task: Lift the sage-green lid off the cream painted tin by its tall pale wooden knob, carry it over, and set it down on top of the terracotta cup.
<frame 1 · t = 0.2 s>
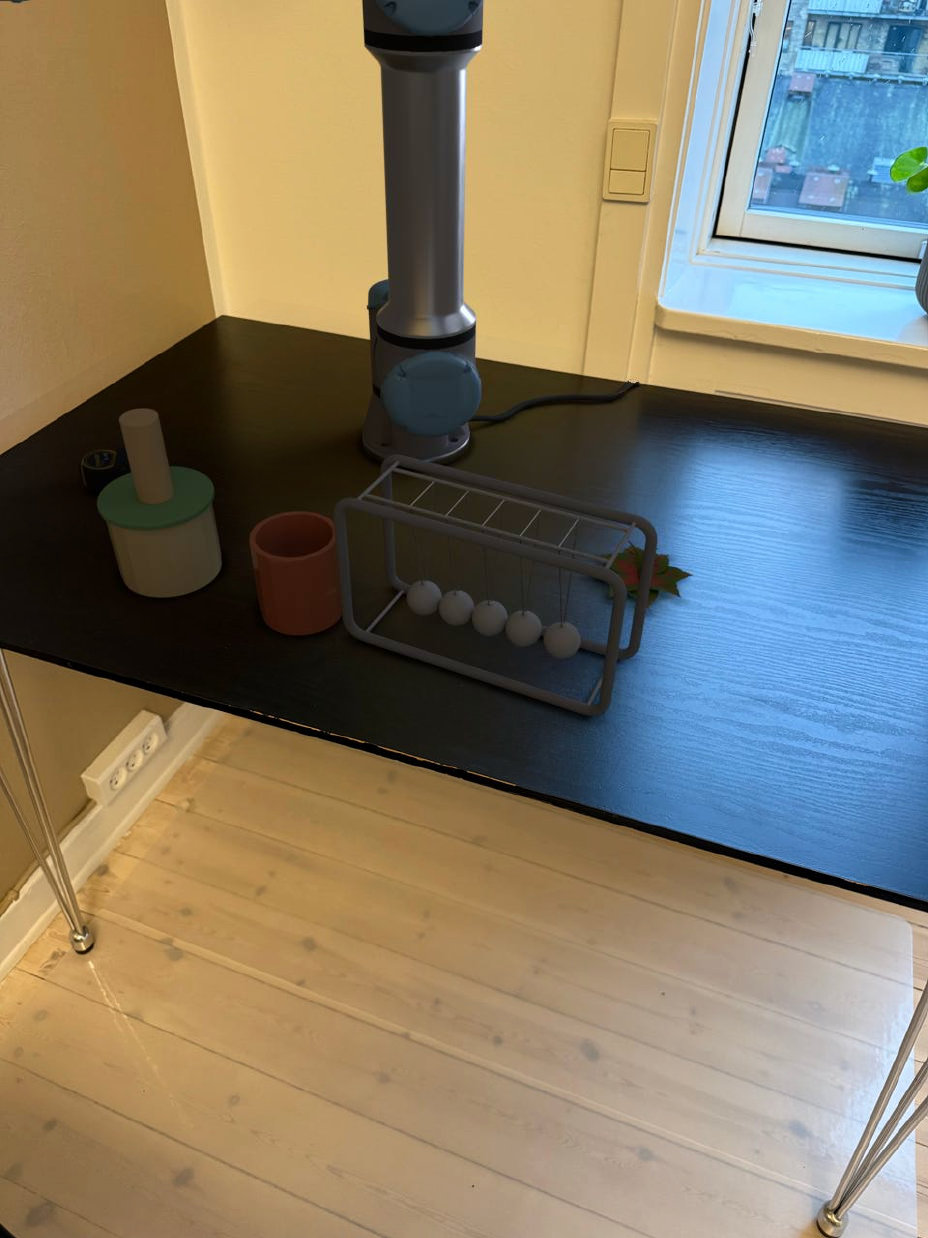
cup: (303, 609, 107), on the table
newton's cradle: (488, 650, 102), on the table
red green leaf: (638, 580, 112), on the table
tape measure: (115, 482, 128), on the table
lid: (157, 499, 107), point 9 cm above the table, touching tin
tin: (172, 568, 113), on the table
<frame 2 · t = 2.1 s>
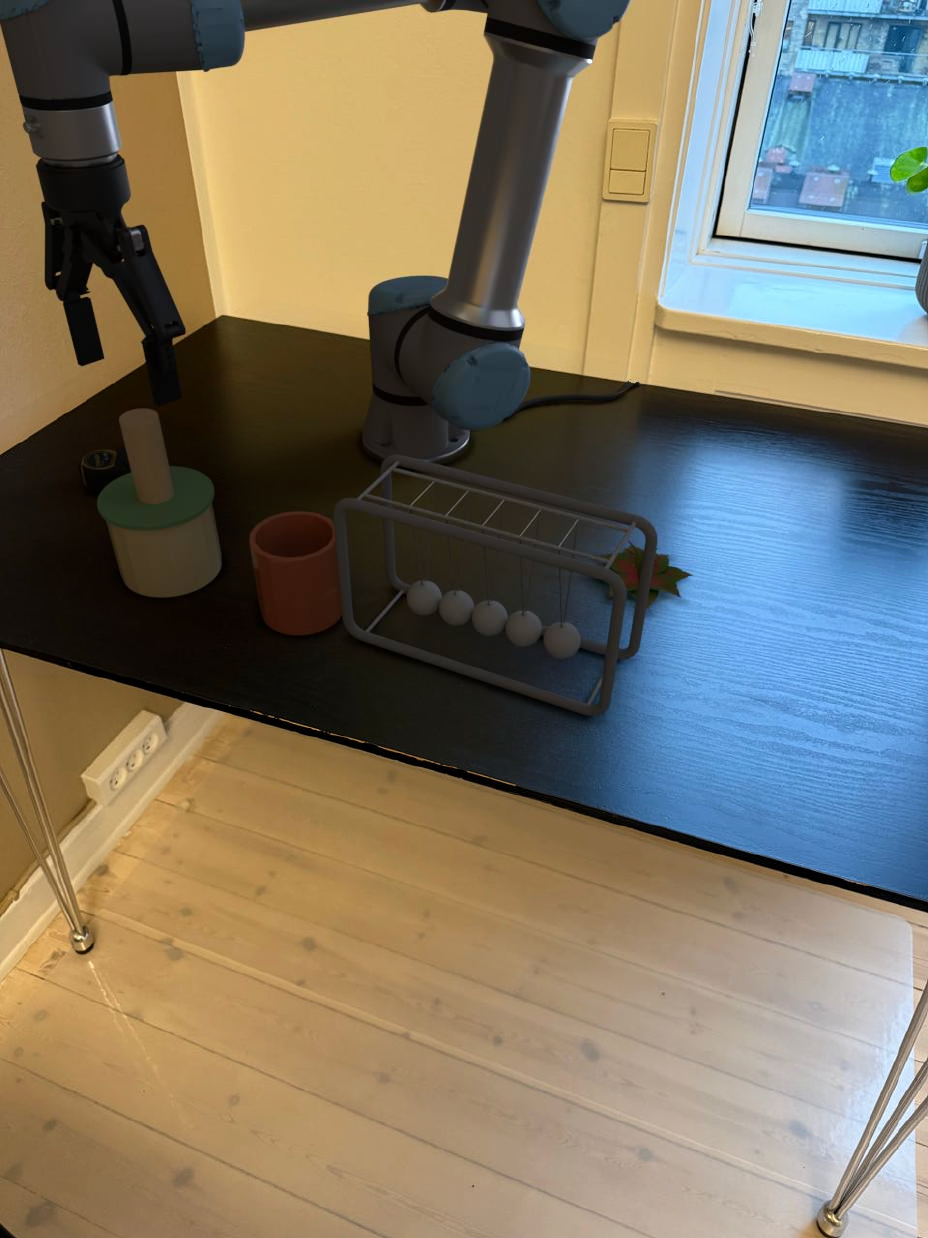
hand: (128, 380, 98), 24 cm above the table, tool pointing down, fingers open, 13 cm apart
nothing on the table moved.
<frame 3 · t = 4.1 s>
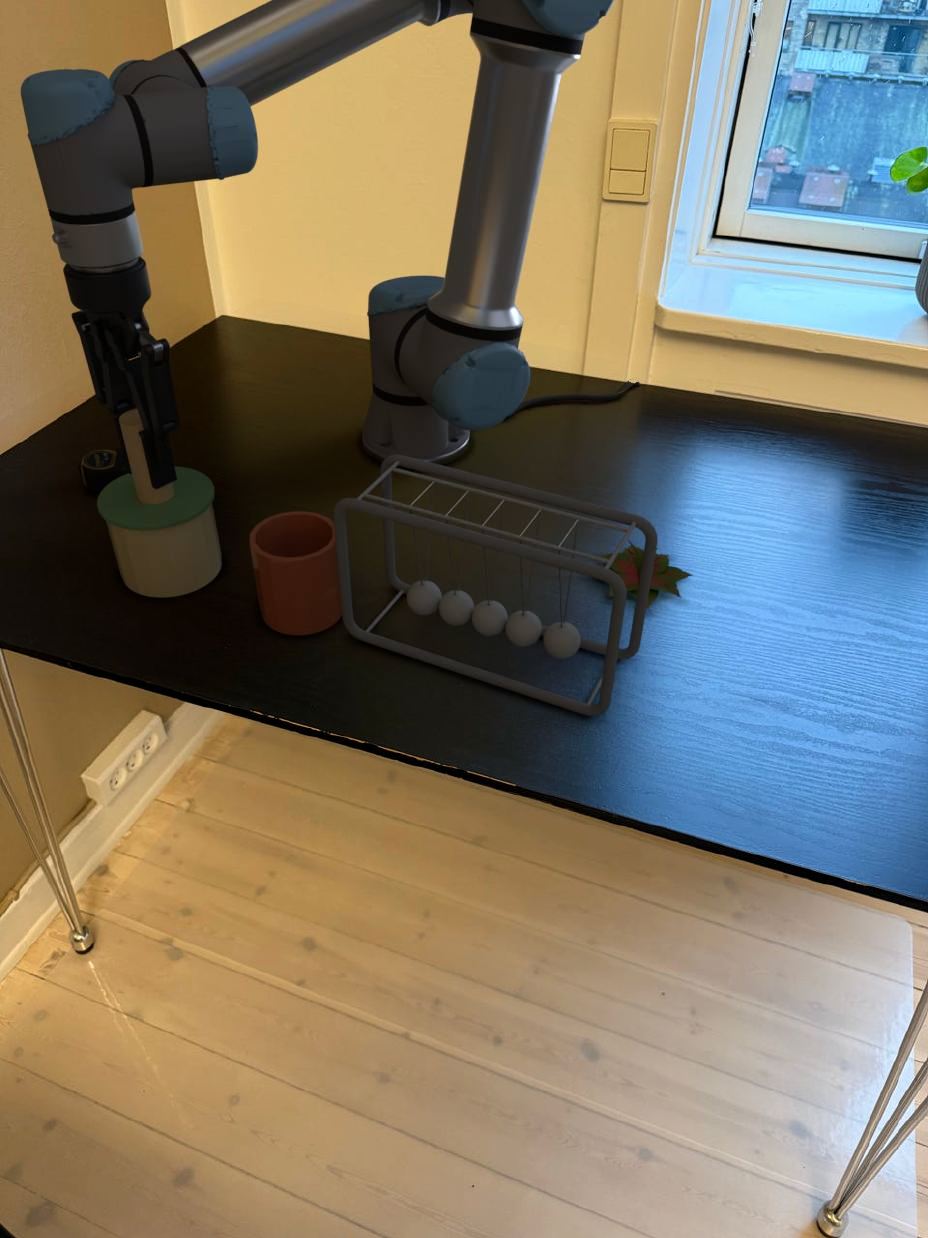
hand: (151, 475, 105), 13 cm above the table, tool pointing down, fingers closed on lid, 4 cm apart
lid: (157, 499, 107), point 10 cm above the table, touching gripper, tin
everything else where it was.
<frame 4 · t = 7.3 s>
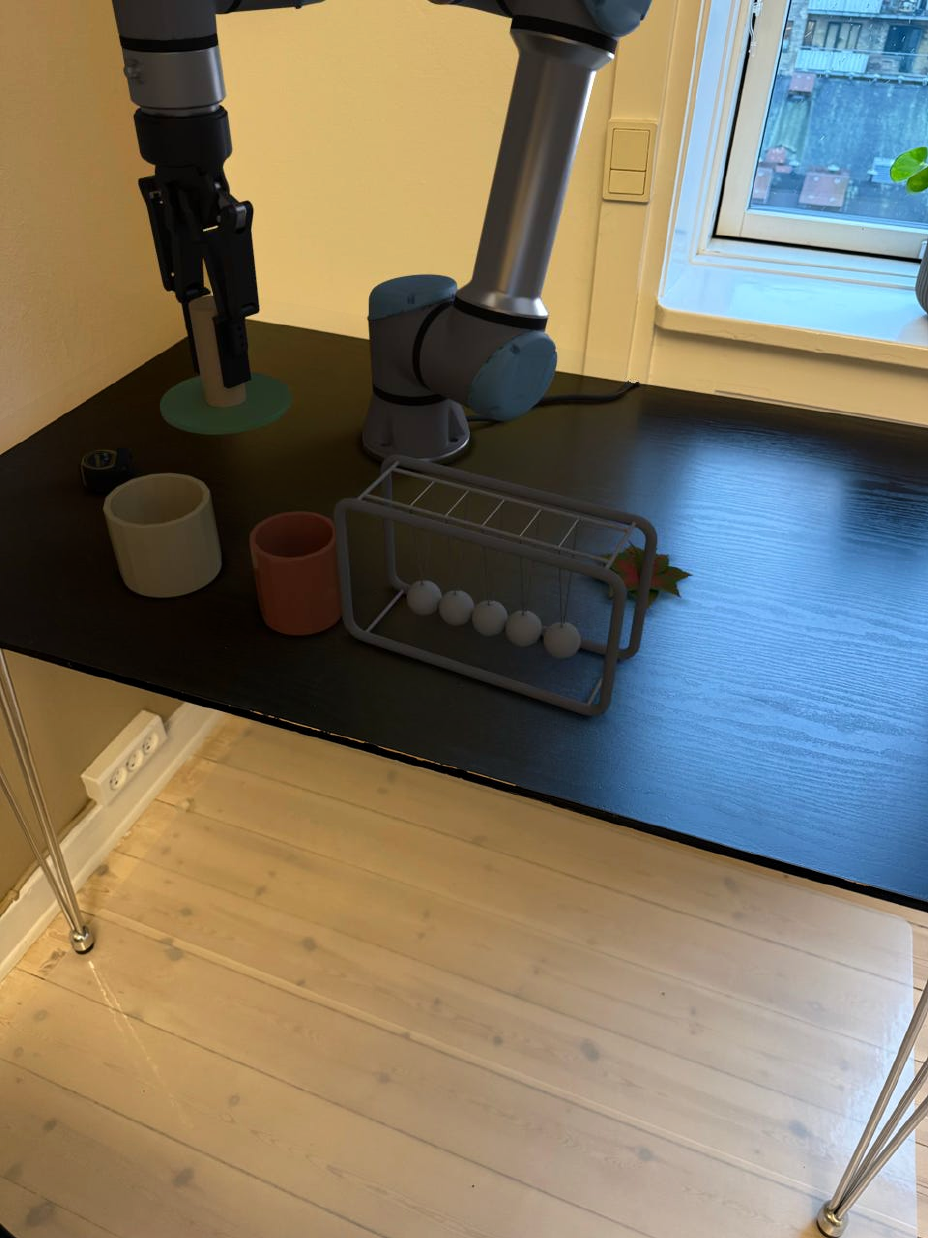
hand: (222, 375, 92), 27 cm above the table, tool pointing down, fingers closed on lid, 4 cm apart
lid: (226, 404, 94), point 24 cm above the table, touching gripper
everything else where it was.
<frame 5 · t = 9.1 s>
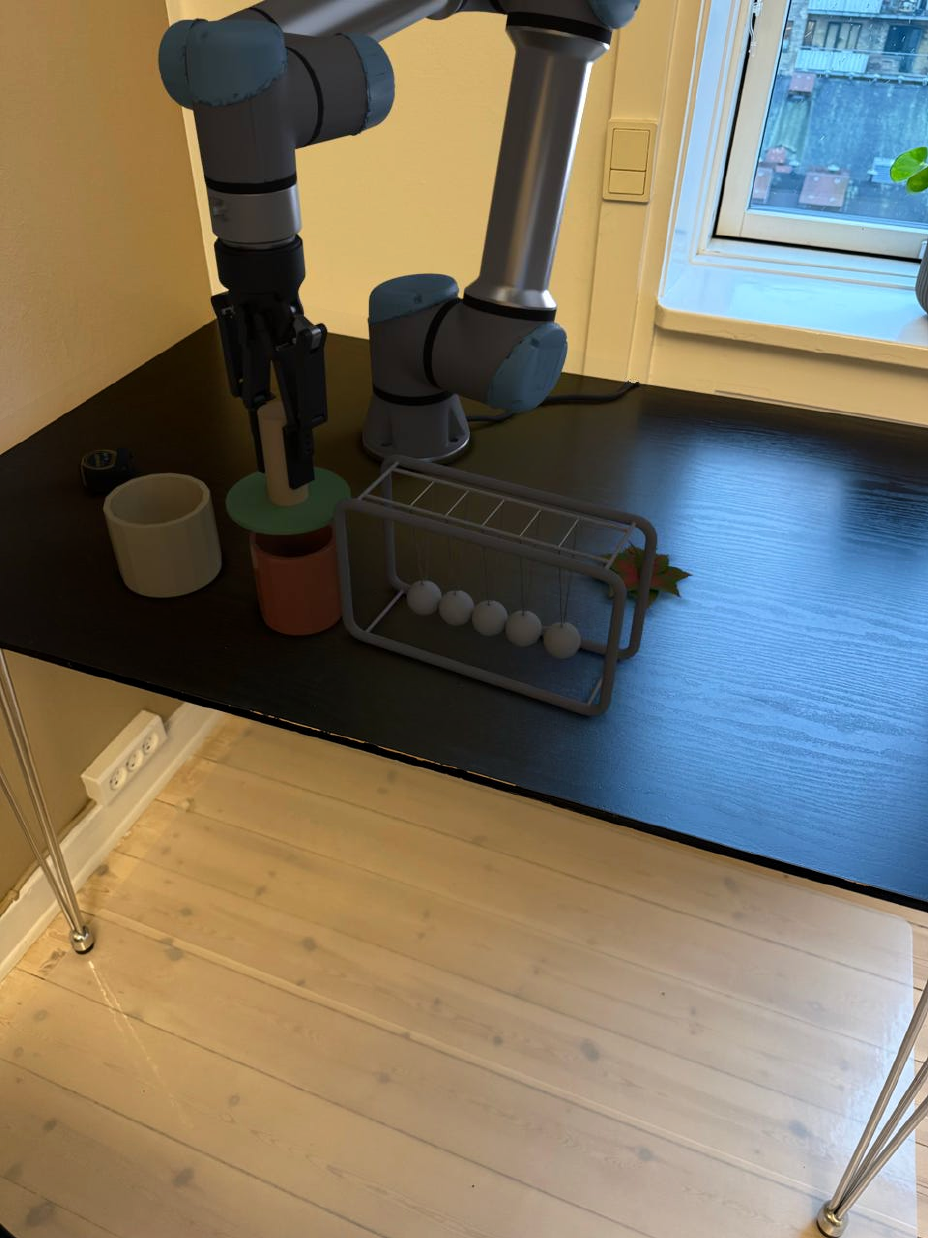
hand: (286, 474, 96), 17 cm above the table, tool pointing down, fingers closed on lid, 4 cm apart
lid: (289, 500, 98), point 14 cm above the table, touching gripper
everything else where it was.
when the fingers open (14 cm above the table, at t = 10.3 s): lid stays where it is, resting on cup.
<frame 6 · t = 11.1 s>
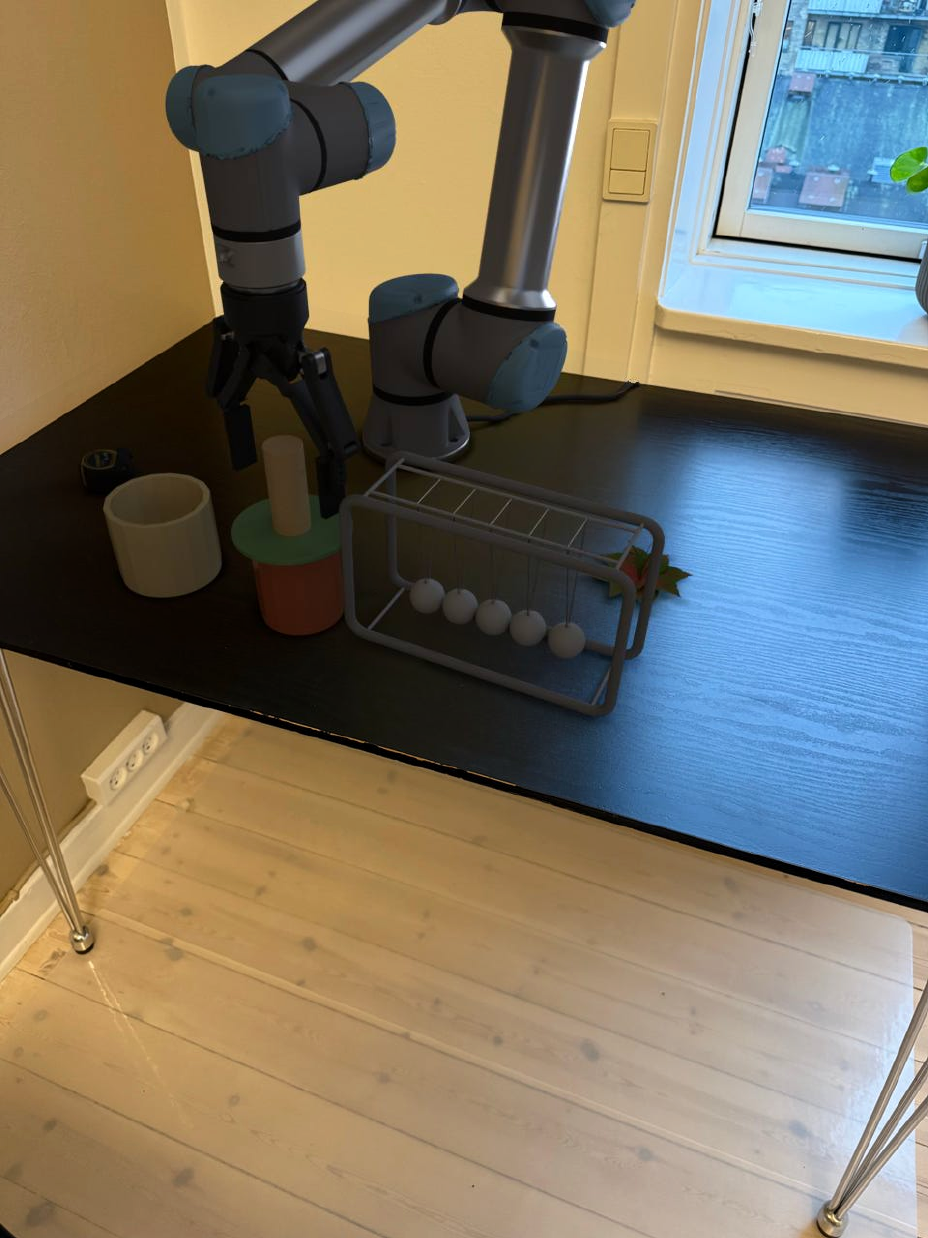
hand: (288, 488, 97), 16 cm above the table, tool pointing down, fingers open, 13 cm apart
newton's cradle: (491, 649, 102), on the table, touching gripper
lid: (292, 530, 100), point 11 cm above the table, touching cup
everything else where it was.
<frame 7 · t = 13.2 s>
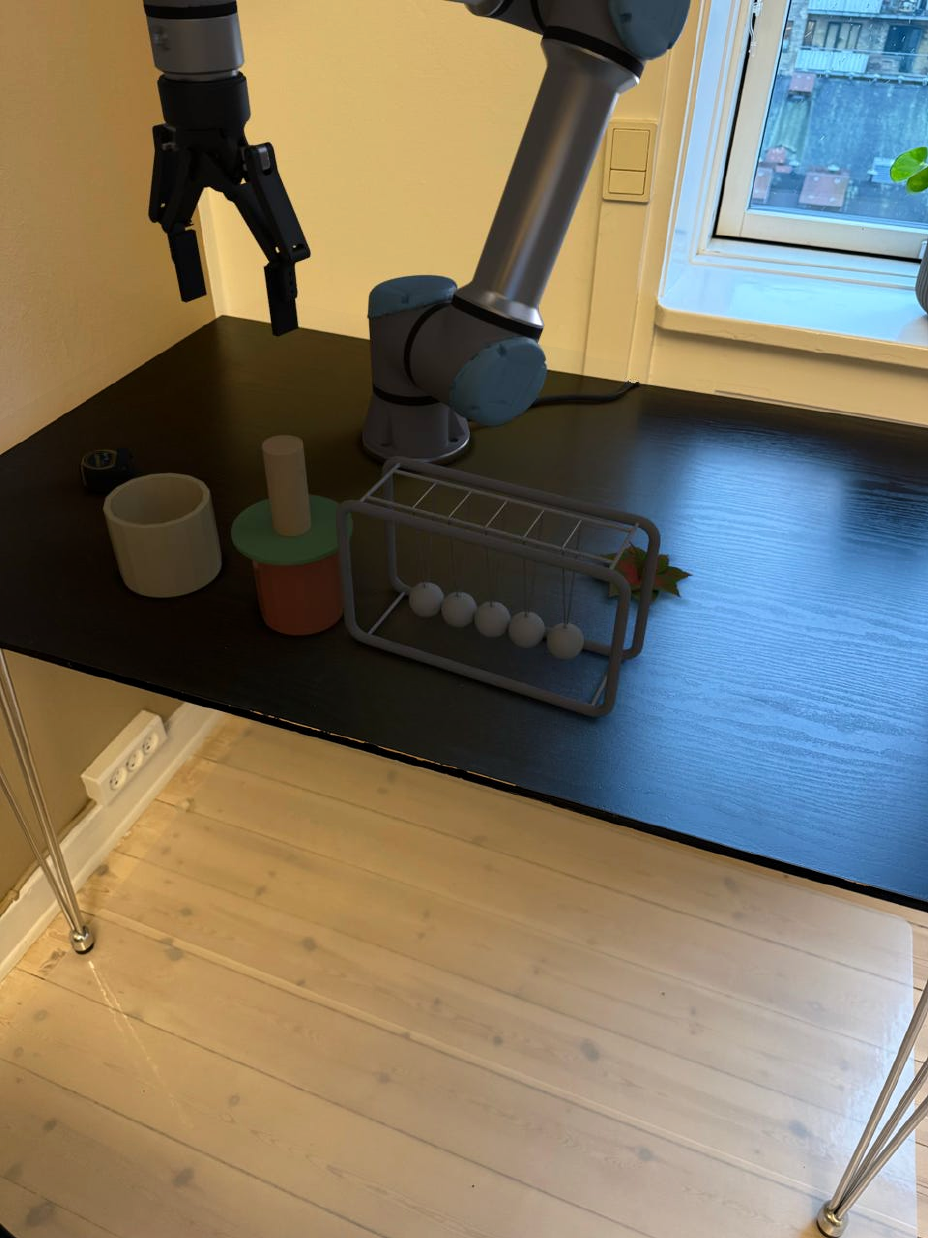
hand: (238, 314, 95), 30 cm above the table, tool pointing down, fingers open, 13 cm apart
newton's cradle: (491, 651, 102), on the table
everything else where it was.
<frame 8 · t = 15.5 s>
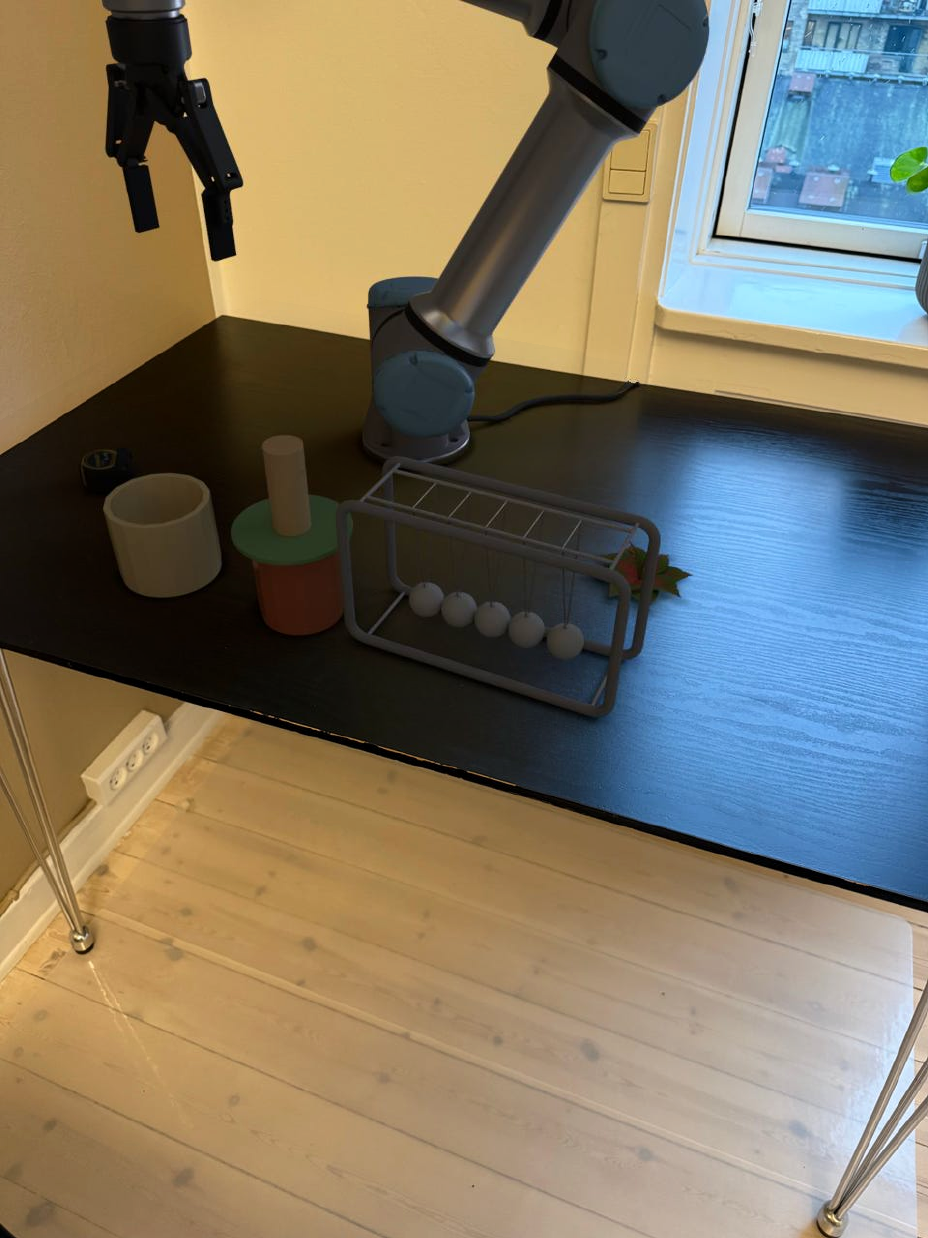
hand: (184, 243, 103), 33 cm above the table, tool pointing down, fingers open, 13 cm apart
nothing on the table moved.
at the end: lid moved 18.0 cm from its start; lid 0.1 cm off-centre on the cup, point 10.6 cm above the cup's base; lid tilted 0° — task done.
